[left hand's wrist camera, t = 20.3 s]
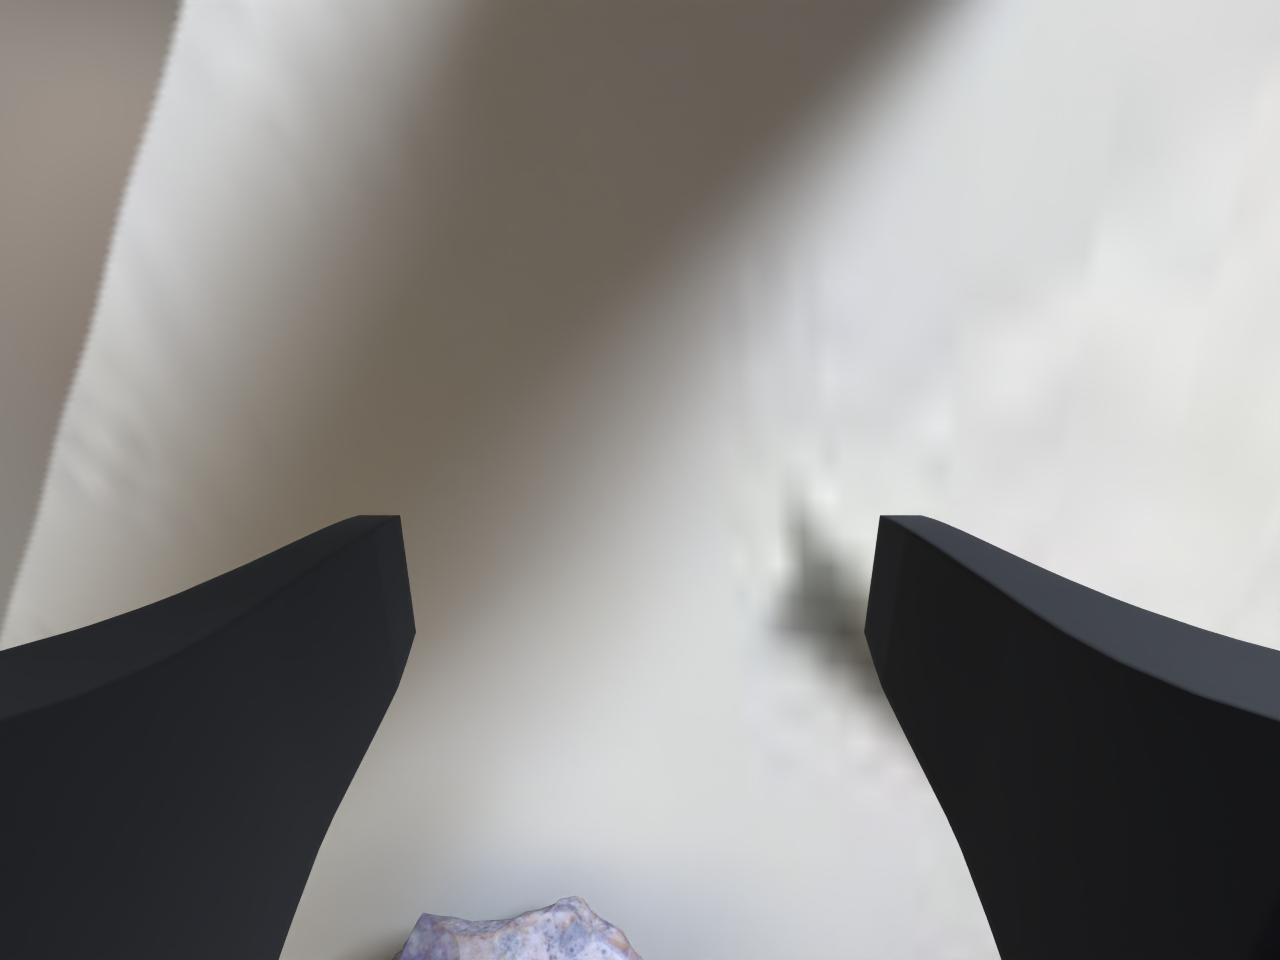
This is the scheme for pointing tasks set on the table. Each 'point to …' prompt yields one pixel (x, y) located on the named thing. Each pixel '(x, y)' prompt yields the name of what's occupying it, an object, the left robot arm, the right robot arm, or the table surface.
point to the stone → (520, 937)
